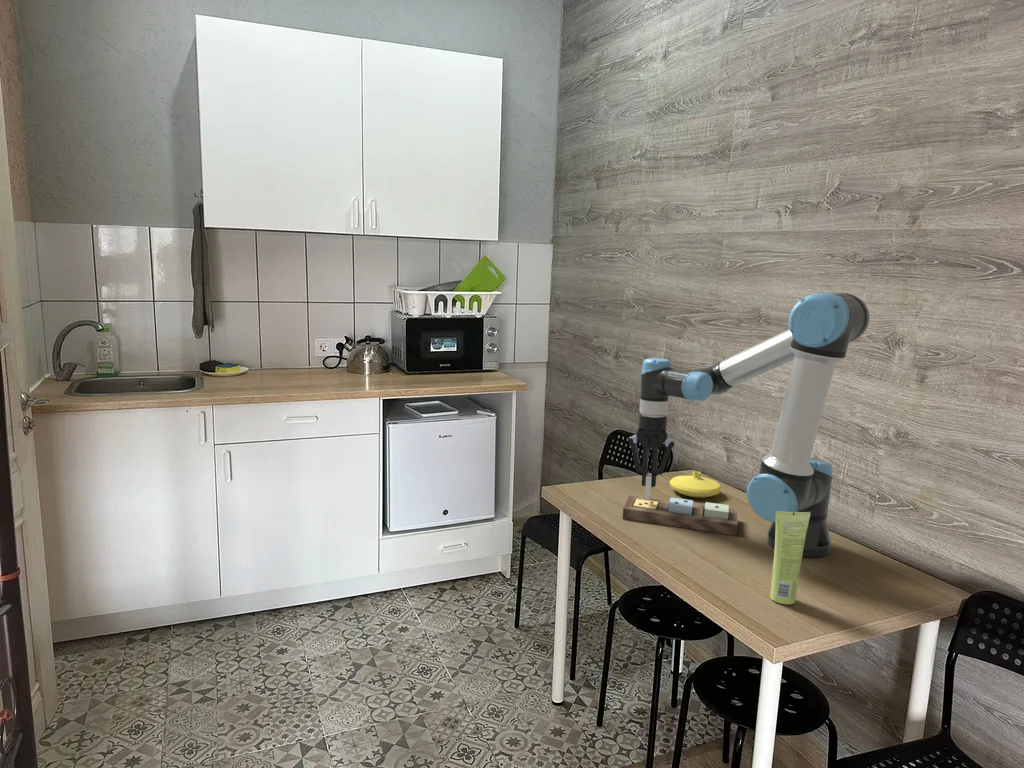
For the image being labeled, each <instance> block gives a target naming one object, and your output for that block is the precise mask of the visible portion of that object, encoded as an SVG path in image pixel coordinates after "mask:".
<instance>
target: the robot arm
mask: <svg viewBox="0 0 1024 768" xmlns="http://www.w3.org/2000/svg"><path fill="white" fill-rule="evenodd" d="M870 317H871V316H870V311H869V308H868V307H867V305H866V303H865V302H864V301H863V300H862V299H861V298H859V297H858V296H856V295H854V294H852V293H847V292H846V293H845V292H838V293H837V292H825V291H821V292H817V293H812V294H809V295H807V296H804V297H803V298H801V299H800V300H799V301H797V303H796V304H795V305H794V306H793V307H792V309H791V310H790V314H789V317H788V329H786V330H784V331H782V332H780V333H778V334H776V335H774V336H771V337H769V338H768V339H766V340H763V341H762V342H759V343H757V344H755V345H753V346H750V347H749V348H747V349H745V350H743V351H740V352H738V353H736V354H734V355H732V356H730V357H728V358H726V359H724V360H721V361H720V362H718V363H715V364H713V365H712V366H708V367H703V368H695V369H679V368H673V367H672V364H671V361H670V359H667V358H656V357H654V358H653V357H652V358H646V359H644V360H643V362H642V367H641V368H642V369H641V373H640V375H641V377H640V378H641V381H640V382H641V383H640V398H639V412H638V413H639V416H638V428H637V431H636V433H635V434H634V435H632V436H629V438H628V439H627V441H628V443H629V446H630V447H631V452H632V458H633V459H632V460H633V463H634V469H635V473H639V474H641V486H643V487H644V498H645V499H650V498H651V497H652V488H655V487H656V484H657V476H661V475H663V473H664V470H665V467H666V465H667V462H668V458H669V455H670V452H671V450H672V449H673V448H674V446H675V445H676V442H675V440H672V439H670V438H669V437H668V432H667V423H668V422H667V420H668V416H667V414H668V410H669V409H668V408H669V406H668V404H669V397H674V398H679V399H685V400H690V401H691V402H692V401H693V402H694V401H697V402H704V401H706V400H708V398H709V397H710V396H714V395H722V394H725V393H727V392H729V391H730V390H731V389H732V388H734V387H735V386H738V385H740V384H742V383H744V382H747V381H749V380H751V379H754V378H756V377H758V376H761V375H764V374H766V373H768V372H769V371H772V370H775V369H777V368H779V367H781V366H784V365H786V364H787V363H791V362H793V364H792V368H791V371H790V376H789V379H788V383H787V387H786V391H785V395H784V399H783V403H782V407H781V410H780V416H779V418H778V423H777V427H776V429H775V430H776V431H775V435H774V438H773V443H772V446H771V450H770V453H769V454H765V455H764V456H763V457H762V459H761V463H760V467H759V471H758V474H757V475H755V476H754V477H752V479H751V480H750V481H749V482H748V485H747V486H746V487H747V488H746V498H747V501H748V502H747V503H748V504H749V506H750V507H751V508H752V510H753V512H754V513H755V514H756V515H757V516H759V518H761V519H763V520H764V521H768V522H771V524H770V526H769V528H768V530H767V536H766V542H767V543H768V545H770V546H771V547H772V548H773V549H775V531H776V511H779V512H810V519H809V523H808V528H807V532H806V537H805V543H804V548H803V554H802V558H803V557H804V558H821V557H826V556H828V555H830V554H831V548H832V540H831V536H830V531H829V526H828V523H827V519H828V512H829V511H828V510H829V503H830V495H831V488H832V481H833V478H834V476H833V466H832V464H831V463H829V462H828V461H825V460H822V459H818V458H814V457H812V453H813V449H814V446H815V442H816V438H817V433H818V431H819V426H820V424H821V419H822V416H823V412H824V407H825V404H826V401H827V398H828V397H827V396H828V394H829V390H830V386H831V382H832V378H833V375H834V371H835V367H836V365H837V364H838V363H839V362H841V361H843V360H845V359H846V356H847V353H848V352H847V351H848V347H849V344H850V343H851V342H855V341H856V340H857V339H859V338H860V337H862V336H863V335H864V334H865V332H866V330H867V329H868V327H869V324H870ZM638 442H639V443H640V444H641V446H642V447H643V449H642V450H643V451H642V452H643V454H642V465H641V460H640V456H639V455H640V454H639V449H638V445H637V443H638ZM664 443H665V446H666V448H665V451H664V454H663V456H662V460H661V462H660V465H659V468H658V458H659V448H660V447H661V446H662V445H663V444H664ZM650 449H652V461H651V473H648V468H649V467H648V465H649V455H650V454H649V452H650Z"/></svg>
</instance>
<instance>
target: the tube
mask: <svg viewBox="0 0 1024 768" xmlns="http://www.w3.org/2000/svg"><path fill="white" fill-rule="evenodd" d="M809 519H810V512H779V511H776V531H775V548H773V549H774V552H773V562H772V575H771V585H770V595H769V596H770V599H771V600H772V601H773V602H775V603H778V604H781V605H786V606H787V605H788V606H789V605H793V604H795V603H796V597H797V591H798V586H799V585H798V584H799V577H800V576H799V575H800V571H801V566H802V560H803V559H802V558H803V556H802V554H803V548H804V543H805V537H806V532H807V528H808V523H809Z"/></svg>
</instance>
